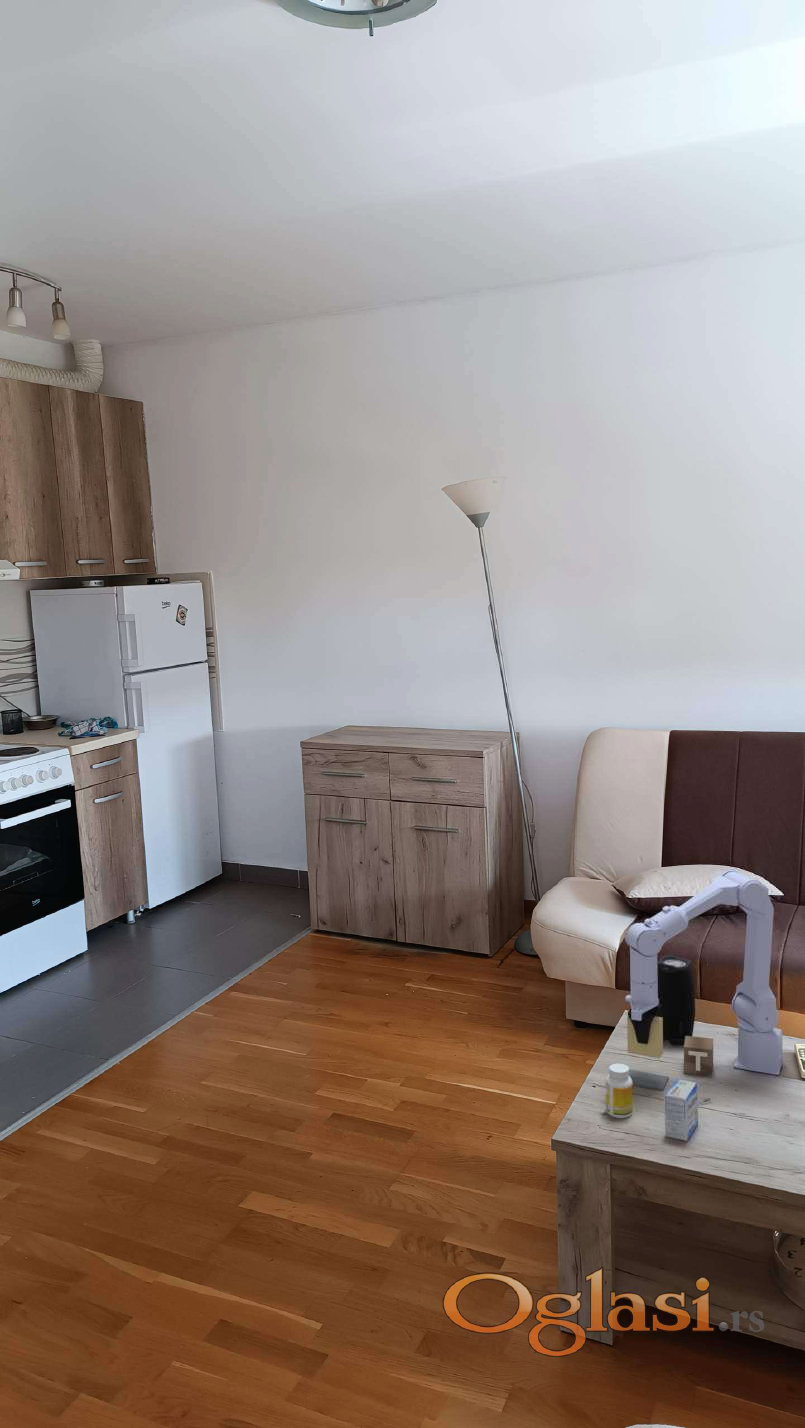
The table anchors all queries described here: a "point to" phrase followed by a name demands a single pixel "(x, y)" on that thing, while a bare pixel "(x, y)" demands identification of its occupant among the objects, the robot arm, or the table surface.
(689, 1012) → the portable speaker
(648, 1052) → the cream rectangular block
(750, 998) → the robot arm
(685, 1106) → the medicine box
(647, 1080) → the mat
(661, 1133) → the table surface
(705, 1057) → the letter cube
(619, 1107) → the supplement bottle
